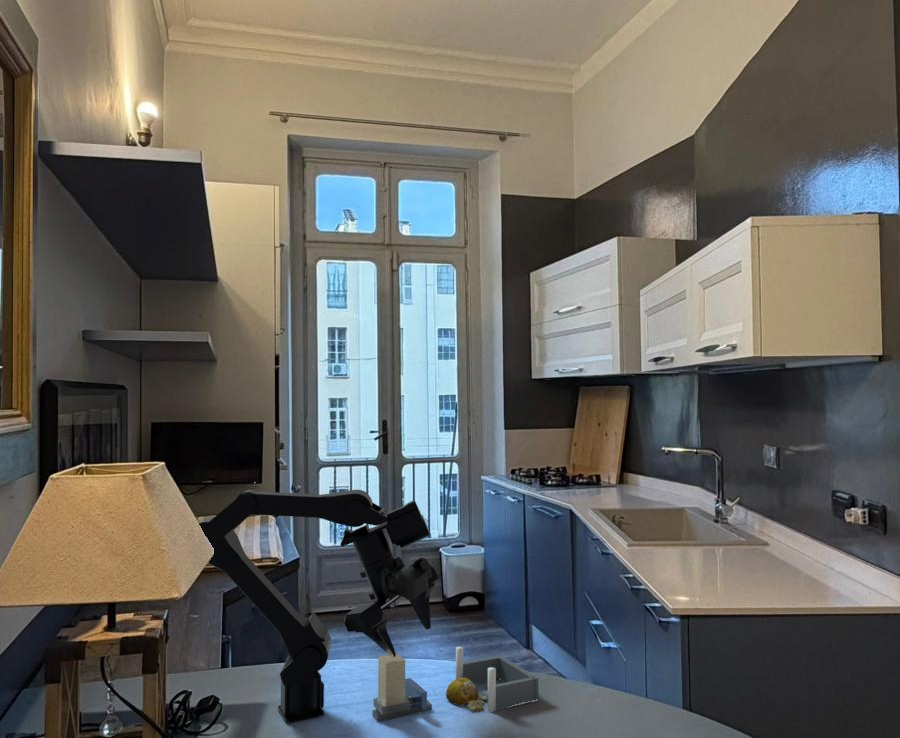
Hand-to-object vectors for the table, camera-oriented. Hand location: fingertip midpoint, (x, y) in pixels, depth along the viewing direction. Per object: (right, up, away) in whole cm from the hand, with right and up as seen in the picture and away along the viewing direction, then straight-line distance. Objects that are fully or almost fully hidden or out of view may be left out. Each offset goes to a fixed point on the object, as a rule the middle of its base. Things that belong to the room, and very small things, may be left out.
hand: (411, 642), depth 122 cm
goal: (+16, -12, +6) cm, 21 cm away
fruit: (+11, -12, +2) cm, 16 cm away
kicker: (-2, -10, -2) cm, 10 cm away
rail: (-1, -11, -2) cm, 12 cm away
